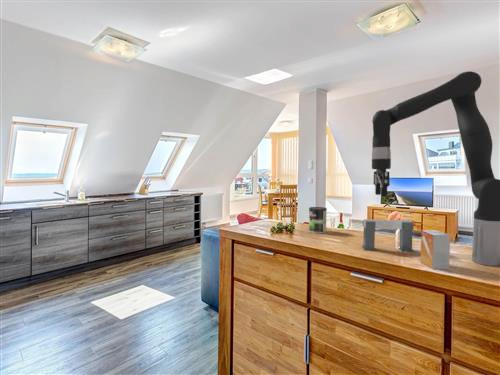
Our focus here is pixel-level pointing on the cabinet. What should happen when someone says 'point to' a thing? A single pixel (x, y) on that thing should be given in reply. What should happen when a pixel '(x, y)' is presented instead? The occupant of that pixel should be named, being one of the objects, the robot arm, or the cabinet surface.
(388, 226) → the rail
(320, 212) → the coffee can
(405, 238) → the post near
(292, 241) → the cabinet surface
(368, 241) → the post far
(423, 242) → the small box
